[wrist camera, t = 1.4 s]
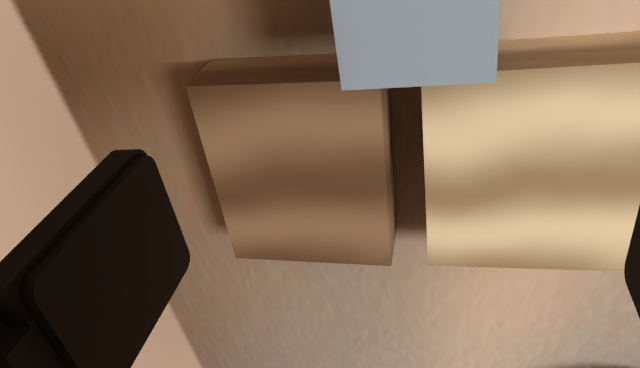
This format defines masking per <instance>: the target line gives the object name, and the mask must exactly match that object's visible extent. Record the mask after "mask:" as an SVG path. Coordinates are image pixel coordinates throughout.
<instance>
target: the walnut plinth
mask: <svg viewBox="0 0 640 368" xmlns="http://www.w3.org/2000/svg"><path fill="white" fill-rule="evenodd" d="M185 87H186V91H187V94H188V97H189V101H190V104H191V108H192V111H193V114H194V118H195V121H196V125H197V128H198V131H199V135H200V138H201V141H202V145H203V148H204V152H205V155H206V158H207V162H208V165H209V169H210V172H211V175H212V179H213V182H214V185H215V189H216V192H217V196H218V199H219V202H220V206H221V209H222V213H223V216H224V219H225V223H226V226H227V229H228V233H229V236H230V240H231V243H232V246H233V250H234V253H235V256H236V258H248V259H267V260H287V261H306V262H325V263H345V264H364V265H383V266H391V264H392V256H393V248H394V240H395V232H396V214H395V194H394V174H393V154H392V135H391V115H390V95H389V88H381V89H362V90H343V91H342V90H341V82H340V75H339V67H338V60H337V54H317V55H296V56H274V57H253V58H231V59H211V60H210V61H209V62H208V63H207V64H206V65H205V66H204V67H203V68H202V69H201V71H200V72H199V73H198V74H197V75H196V76H195V77H194V78H193V79H192V80H191V81H190V82H189V83H188V84H187V85H186V86H185Z"/></svg>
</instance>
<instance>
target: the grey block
mask: <svg viewBox="0 0 640 368" xmlns="http://www.w3.org/2000/svg"><path fill="white" fill-rule="evenodd" d="M330 8H331V15H332V23H333V30H334V38H335V45H336V52H337V60H338V67H339V75H340V82H341V90H342V91H343V90H362V89H381V88H401V87H420V86H439V85H459V84H478V83H496V78H497V58H498V38H499V19H500V0H330Z"/></svg>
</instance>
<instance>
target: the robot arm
mask: <svg viewBox="0 0 640 368" xmlns="http://www.w3.org/2000/svg"><path fill="white" fill-rule="evenodd" d="M189 262H190V253H189V250H188V247H187V244H186V242H185V239H184V237H183V234H182V231H181V229H180V226H179V223H178V221H177V218H176V216H175V213H174V210H173V208H172V205H171V202H170V200H169V197H168V195H167V192H166V189H165V187H164V184H163V181H162V179H161V176H160V173H159V171H158V168H157V166H156V163H155V161H154V159H153V158H152V157H150V156H147V154H146V153H145V152H144V151H143V150H140V149H134V150H114V151H112V152H111V153H110V154H109V155H108V156H107V157H106V158H105V159H104V160H103V161H102V162H101V163H100V164H99V165H98V166H96V168H94V169H93V170H92V172H90V174H88V175H87V177H85V179H83V180H82V181H81V182H80V183H79V184H78V185H77V186H76V187H75V188H74V189H73V190H72V191H71V192H70V193H69V194H68V195H67V196H66V197H65V198H64V199H63V200H62V201H61V202H60V203H59V204H58V205H57V206H56V207H55V208H54V209H53V210H52V211H51V212H50V213H49V214H48V215H47V216H46V217H45V218H44V219H43V220H42V221H41V222H40V223H39V224H38V225H37V226H36V227H35V228H34V229H33V230H32V231H31V232H30V233H29V234H28V235H27V236H26V237H25V238H24V239H23V240H22V241H21V242H20V243H19V244H18V245H17V246H16V247H15V248H14V249H13V250H12V251H11V252H10V253H9V254H8V255H7V256H6V257H5V258H4V259H3V260H2V261H1V262H0V368H131V366H132V364H133V363H134V361H135V359H136V357H137V356H138V354H139V352H140V350H141V349H142V347H143V345H144V343H145V342H146V340H147V338H148V337H149V335H150V333H151V331H152V330H153V328H154V326H155V324H156V323H157V321H158V319H159V317H160V316H161V314H162V312H163V310H164V309H165V307H166V305H167V304H168V302H169V300H170V298H171V297H172V295H173V293H174V291H175V290H176V288H177V286H178V284H179V283H180V281H181V279H182V277H183V276H184V274H185V272H186V271H187V269H188V266H189ZM624 273H625V281H626V284H627V287H628V290H629V292H630V295H631V297H632V300H633V302H634V305H635V307H636V310H637V312H638V315H639V318H640V205H639V209H638V213H637V217H636V221H635V225H634V229H633V233H632V237H631V241H630V245H629V249H628V253H627V257H626V261H625V267H624Z"/></svg>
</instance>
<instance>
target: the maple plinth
mask: <svg viewBox="0 0 640 368" xmlns="http://www.w3.org/2000/svg"><path fill="white" fill-rule="evenodd" d="M421 96H422V122H423V148H424V174H425V200H426V225H427V251H428V265H433V266H465V267H497V268H529V269H561V270H593V271H624V267H625V261H626V257H627V253H628V249H629V245H630V241H631V237H632V233H633V229H634V225H635V221H636V217H637V213H638V209H639V205H640V31H634V32H620V33H606V34H592V35H578V36H564V37H550V38H535V39H521V40H507V41H498V58H497V78H496V83H478V84H459V85H439V86H421Z"/></svg>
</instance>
